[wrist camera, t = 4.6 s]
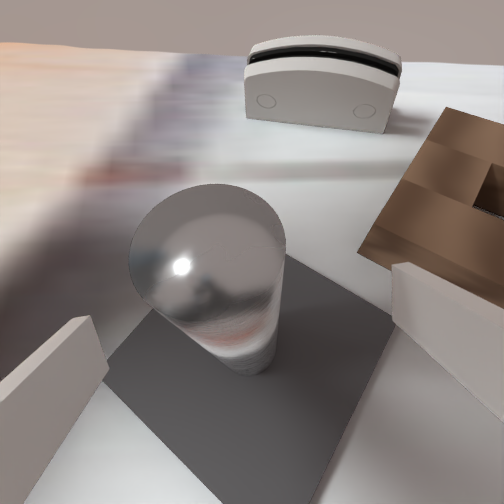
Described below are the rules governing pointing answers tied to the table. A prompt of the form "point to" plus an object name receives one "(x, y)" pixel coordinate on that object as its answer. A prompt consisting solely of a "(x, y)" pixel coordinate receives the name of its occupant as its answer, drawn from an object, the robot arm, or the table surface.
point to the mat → (257, 392)
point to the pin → (215, 271)
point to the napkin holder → (322, 82)
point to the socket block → (449, 208)
